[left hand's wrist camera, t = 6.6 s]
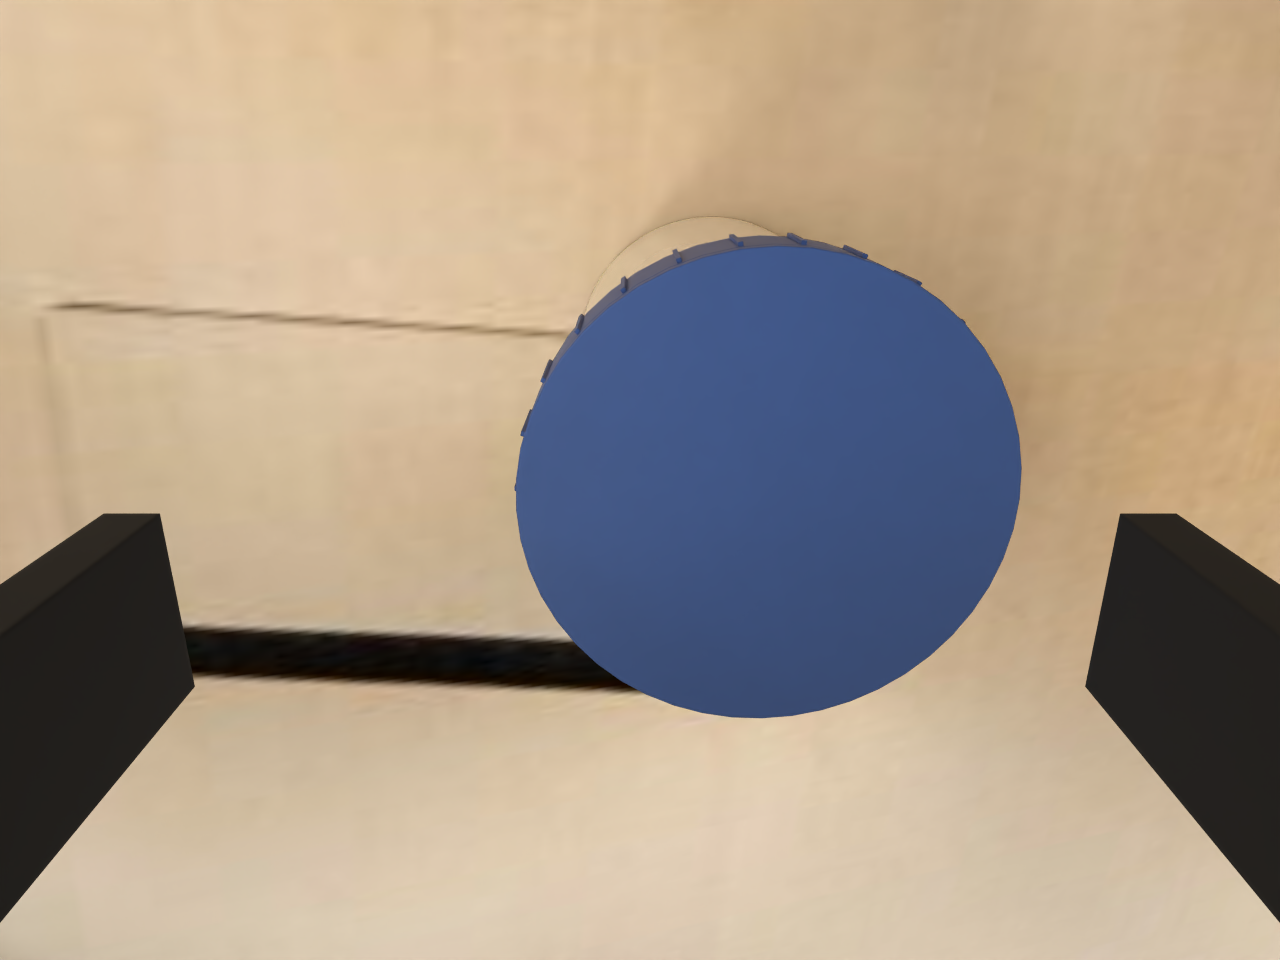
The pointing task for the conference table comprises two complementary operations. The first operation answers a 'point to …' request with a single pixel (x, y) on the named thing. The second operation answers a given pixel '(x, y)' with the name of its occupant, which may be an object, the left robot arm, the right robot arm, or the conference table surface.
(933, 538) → the lid
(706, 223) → the jar
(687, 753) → the conference table surface
